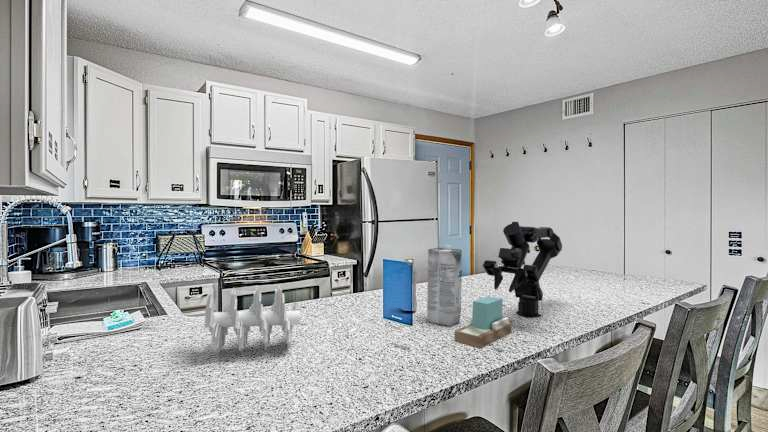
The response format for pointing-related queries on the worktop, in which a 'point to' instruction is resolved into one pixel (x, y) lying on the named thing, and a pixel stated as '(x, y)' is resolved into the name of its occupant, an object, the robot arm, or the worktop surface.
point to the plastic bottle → (414, 284)
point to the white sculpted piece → (250, 319)
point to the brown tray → (483, 333)
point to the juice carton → (444, 285)
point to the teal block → (486, 312)
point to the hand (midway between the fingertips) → (502, 290)
